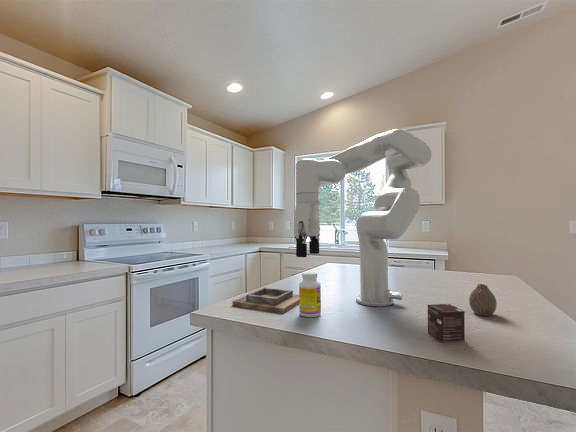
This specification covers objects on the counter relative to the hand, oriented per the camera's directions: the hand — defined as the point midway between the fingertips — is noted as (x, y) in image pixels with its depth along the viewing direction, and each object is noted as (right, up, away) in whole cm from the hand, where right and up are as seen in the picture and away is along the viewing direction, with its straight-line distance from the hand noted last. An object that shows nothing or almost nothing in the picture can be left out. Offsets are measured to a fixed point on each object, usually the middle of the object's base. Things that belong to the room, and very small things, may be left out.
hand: (308, 255), depth 92 cm
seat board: (-13, -19, +14) cm, 26 cm away
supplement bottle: (+1, -19, 0) cm, 19 cm away
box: (+32, -18, -19) cm, 42 cm away
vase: (+52, -18, -2) cm, 55 cm away
